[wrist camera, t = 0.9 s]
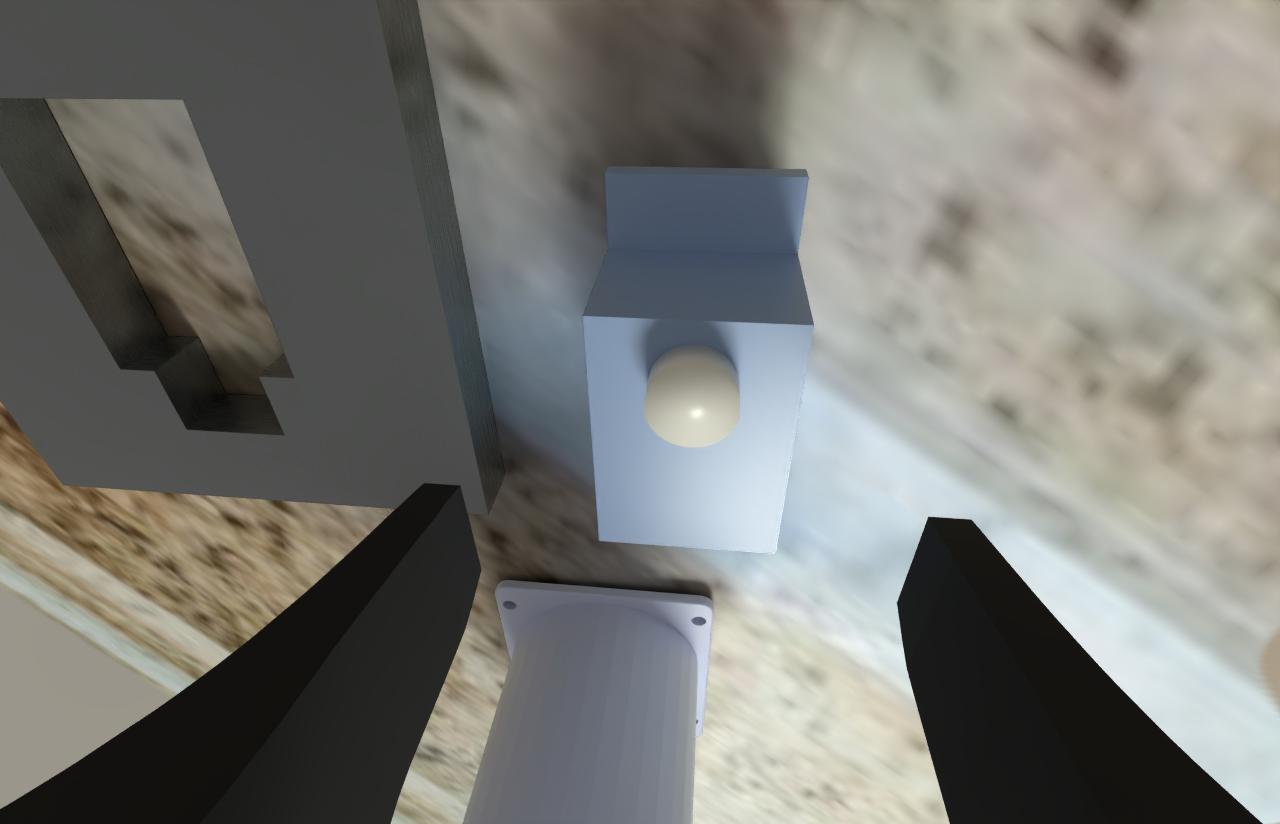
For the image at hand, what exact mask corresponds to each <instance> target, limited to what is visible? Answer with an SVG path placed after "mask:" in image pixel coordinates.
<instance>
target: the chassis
mask: <svg viewBox="0 0 1280 824" xmlns="http://www.w3.org/2000/svg"><path fill="white" fill-rule="evenodd" d="M43 98H60V99H177V100H183V101H184V103H185V106H186V108H187V111H188V113H189V116H190V118H191V121H192V123H193V126H194V128H195V131H196V133H197V136H198V138H199V141H200V143H201V146H202V148H203V151H204V153H205V156H206V158H207V161H208V163H209V166H210V168H211V171H212V173H213V176H214V178H215V181H216V183H217V186H218V188H219V191H220V193H221V196H222V198H223V201H224V203H225V206H226V208H227V211H228V213H229V216H230V218H231V221H232V223H233V226H234V228H235V231H236V233H237V236H238V238H239V241H240V243H241V246H242V248H243V251H244V253H245V256H246V258H247V261H248V263H249V266H250V268H251V271H252V273H253V276H254V278H255V281H256V283H257V286H258V288H259V291H260V293H261V296H262V298H263V301H264V303H265V306H266V308H267V311H268V313H269V316H270V318H271V321H272V323H273V326H274V328H275V331H276V333H277V336H278V338H279V341H280V343H281V345H282V348H283V350H284V353H283V354H282V355H281V356H280V357H279V358H278V359H277V360H276V361H275V362H274V363H273V364H272V365H271V366H270V367H269V368H268V369H267V370H265V371H264V372H263V373H262V374H261V375H260V376H259V378H260V380H261V382H262V385H263V387H264V389H265V391H266V394H267V396H254V395H235V394H225V392H224V389H223V387H222V385H221V383H220V381H219V379H218V377H217V375H216V373H215V371H214V369H213V367H212V365H211V363H210V361H209V359H208V357H207V354H206V352H205V350H204V348H203V346H202V344H201V342H200V340H199V338H195V337H173V336H166V334H165V332H164V330H163V328H162V326H161V325H160V323H159V321H158V319H157V317H156V315H155V313H154V311H153V309H152V307H151V305H150V303H149V301H148V299H147V298H146V296H145V294H144V292H143V290H142V288H141V286H140V284H139V282H138V280H137V278H136V276H135V274H134V272H133V271H132V269H131V267H130V265H129V263H128V261H127V259H126V257H125V255H124V253H123V251H122V249H121V247H120V246H119V244H118V242H117V240H116V238H115V236H114V234H113V232H112V230H111V228H110V226H109V224H108V222H107V220H106V219H105V217H104V215H103V213H102V211H101V209H100V207H99V205H98V203H97V201H96V199H95V197H94V195H93V194H92V192H91V190H90V188H89V186H88V184H87V182H86V180H85V178H84V176H83V174H82V172H81V170H80V168H79V167H78V165H77V163H76V161H75V159H74V157H73V155H72V153H71V151H70V149H69V147H68V145H67V143H66V141H65V140H64V138H63V136H62V134H61V132H60V130H59V128H58V126H57V124H56V122H55V120H54V118H53V116H52V115H51V113H50V111H49V109H48V107H47V105H46V103H45V101H44V99H43ZM0 401H1V403H2V404H3V405H4V407H5V408H6V409H7V411H8V412H9V413H10V415H11V416H12V417H13V419H14V420H15V421H16V423H17V424H18V425H19V427H20V428H21V429H22V431H23V432H24V433H25V435H26V436H27V437H28V439H29V440H30V441H31V443H32V444H33V446H34V447H35V448H36V450H37V451H38V452H39V454H40V455H41V456H42V458H43V459H44V460H45V462H46V463H47V464H48V466H49V467H50V468H51V470H52V471H53V472H54V474H55V475H56V476H57V478H58V479H59V480H60V482H61V483H62V484H63V485H68V486H82V487H96V488H110V489H124V490H138V491H152V492H166V493H181V494H195V495H209V496H223V497H237V498H251V499H265V500H279V501H294V502H308V503H322V504H336V505H350V506H364V507H378V508H392V509H396V508H397V507H398V506H399V505H400V504H402V503H403V502H404V501H405V500H406V499H407V498H408V497H409V496H410V495H411V494H412V493H413V492H415V491H416V490H417V489H418V488H419V487H420V486H421V485H422V484H423V483H432V484H447V485H460V486H461V490H462V494H463V498H464V502H465V506H466V510H467V514H477V515H489V512H490V510H491V508H492V505H493V503H494V500H495V498H496V495H497V493H498V490H499V488H500V486H501V483H502V481H503V478H504V476H505V473H504V467H503V462H502V457H501V451H500V446H499V441H498V435H497V430H496V424H495V419H494V414H493V408H492V403H491V398H490V392H489V387H488V381H487V376H486V371H485V365H484V360H483V355H482V349H481V344H480V338H479V333H478V328H477V322H476V317H475V312H474V306H473V301H472V295H471V290H470V285H469V279H468V274H467V269H466V263H465V258H464V252H463V247H462V242H461V236H460V231H459V226H458V220H457V215H456V209H455V204H454V199H453V193H452V188H451V183H450V177H449V172H448V166H447V161H446V156H445V150H444V145H443V140H442V134H441V129H440V123H439V118H438V113H437V107H436V102H435V97H434V91H433V86H432V80H431V75H430V70H429V64H428V59H427V54H426V48H425V43H424V37H423V32H422V27H421V21H420V16H419V11H418V5H417V0H0Z"/></svg>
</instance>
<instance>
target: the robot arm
mask: <svg viewBox="0 0 1280 824" xmlns="http://www.w3.org/2000/svg"><path fill="white" fill-rule="evenodd" d="M480 573H481V566H480V562H479V558H478V554H477V550H476V546H475V542H474V538H473V534H472V530H471V526H470V522H469V518H468V514H467V510H466V506H465V502H464V498H463V494H462V490H461V486H460V485H447V484H432V483H423V484H422V485H421V486H420V487H419V488H418V489H417V490H416V491H415V492H413V493H412V494H411V495H410V496H409V497H408V498H407V499H406V500H405V501H404V502H403V503H402V504H400V505H399V506H398V507H397V508H396V509H395V510H394V511H393V512H392V513H391V514H390V515H389V516H388V517H387V518H386V519H385V520H384V521H383V522H382V523H380V524H379V525H378V526H377V527H376V528H375V529H374V530H373V531H372V532H371V533H370V534H369V535H368V536H367V537H366V538H365V539H364V540H362V541H361V542H360V543H359V544H358V545H357V546H356V547H355V548H354V549H353V550H352V551H351V552H350V553H349V554H347V555H346V556H345V557H344V558H343V559H342V560H341V561H340V562H339V563H338V564H336V565H335V566H334V567H333V568H332V569H331V570H330V571H329V572H328V573H327V574H326V575H324V576H323V577H322V578H321V579H320V580H319V581H318V582H317V583H316V584H315V585H313V586H312V587H311V588H310V589H309V590H308V591H307V592H305V593H304V594H303V595H302V596H301V597H300V598H299V599H297V600H296V601H295V602H294V603H293V604H291V605H290V606H289V607H288V608H287V609H286V610H284V611H283V612H282V613H281V614H280V615H278V616H277V617H276V618H275V619H274V620H272V621H271V622H270V623H269V624H268V625H267V626H265V627H264V628H263V629H262V630H261V631H259V632H258V633H257V634H256V635H255V636H253V637H252V638H251V639H250V640H248V641H247V642H246V643H245V644H243V645H242V646H241V647H240V648H238V649H237V650H236V651H235V652H233V653H232V654H231V655H230V656H228V657H227V658H226V659H224V660H223V661H222V662H221V663H219V664H218V665H217V666H215V667H214V668H213V669H211V670H210V671H209V672H207V673H206V674H204V675H203V676H202V677H200V678H199V679H198V680H196V681H195V682H194V683H192V684H191V685H190V686H188V687H187V688H185V689H184V690H183V691H181V692H180V693H179V694H177V695H176V696H175V697H173V698H172V699H170V700H169V701H168V702H166V703H165V704H163V705H162V706H160V707H159V708H158V709H156V710H155V711H153V712H152V713H150V714H149V715H147V716H146V717H144V718H143V719H141V720H140V721H138V722H137V723H135V724H134V725H132V726H130V727H129V728H128V729H126V730H125V731H123V732H121V733H120V734H119V735H117V736H116V737H114V738H112V739H111V740H109V741H108V742H106V743H105V744H104V745H102V746H100V747H99V748H97V749H96V750H94V751H93V752H91V753H90V754H88V755H87V756H85V757H84V758H83V759H81V760H79V761H78V762H76V763H75V764H73V765H72V766H70V767H69V768H67V769H65V770H64V771H62V772H61V773H59V774H57V775H56V776H54V777H52V778H51V779H49V780H48V781H46V782H45V783H43V784H41V785H40V786H38V787H36V788H35V789H33V790H31V791H30V792H28V793H26V794H25V795H23V796H22V797H20V798H19V799H17V800H15V801H13V802H12V803H10V804H8V805H7V806H5V807H3V808H2V809H0V824H391V820H392V817H393V814H394V811H395V807H396V804H397V801H398V798H399V795H400V792H401V789H402V786H403V784H404V781H405V778H406V775H407V773H408V770H409V767H410V765H411V762H412V760H413V757H414V755H415V752H416V750H417V747H418V745H419V743H420V740H421V738H422V735H423V733H424V730H425V728H426V725H427V723H428V720H429V718H430V716H431V713H432V711H433V708H434V706H435V703H436V701H437V698H438V696H439V694H440V691H441V689H442V686H443V684H444V681H445V679H446V676H447V674H448V671H449V669H450V666H451V664H452V661H453V659H454V656H455V654H456V651H457V649H458V646H459V644H460V641H461V639H462V636H463V634H464V631H465V628H466V625H467V621H468V618H469V614H470V611H471V607H472V604H473V600H474V596H475V592H476V588H477V584H478V581H479V577H480ZM495 597H496V601H497V605H498V610H499V614H500V618H501V622H502V627H503V631H504V635H505V640H506V644H507V648H508V652H509V657H510V661H511V662H510V666H509V669H508V672H507V676H506V679H505V683H504V686H503V689H502V693H501V696H500V699H499V703H498V706H497V709H496V713H495V716H494V720H493V723H492V726H491V730H490V733H489V736H488V740H487V743H486V747H485V750H484V753H483V757H482V760H481V763H480V767H479V770H478V774H477V777H476V780H475V784H474V787H473V790H472V794H471V797H470V800H469V804H468V807H467V811H466V814H465V817H464V821H463V824H692V818H693V792H694V766H695V739H696V738H698V737H700V736H701V735H702V733H703V724H704V713H705V702H706V691H707V680H708V669H709V658H710V646H711V635H712V624H713V613H714V605H713V602H712V601H711V600H710V599H709V598H707V597H705V596H701V595H688V594H676V593H663V592H651V591H639V590H626V589H614V588H601V587H589V586H576V585H564V584H551V583H539V582H526V581H514V580H504V581H501V582H499V584H498V585H497V588H496V591H495ZM897 606H898V613H899V620H900V627H901V635H902V641H903V647H904V654H905V660H906V666H907V671H908V674H909V678H910V682H911V686H912V689H913V693H914V697H915V700H916V704H917V708H918V711H919V715H920V719H921V722H922V726H923V729H924V733H925V736H926V740H927V744H928V747H929V751H930V754H931V758H932V761H933V765H934V769H935V772H936V776H937V779H938V783H939V786H940V790H941V793H942V797H943V801H944V804H945V808H946V811H947V815H948V818H949V822H950V824H1262V823H1261V822H1260V821H1259V820H1258V819H1257V818H1256V817H1255V816H1254V815H1252V814H1251V813H1250V812H1249V811H1248V810H1247V809H1246V808H1245V807H1244V806H1243V805H1241V804H1240V803H1239V802H1238V801H1237V800H1236V799H1235V798H1234V797H1233V796H1232V795H1231V794H1229V793H1228V792H1227V791H1226V790H1225V789H1224V788H1223V787H1222V786H1221V785H1220V784H1218V783H1217V782H1216V781H1215V780H1214V779H1213V778H1212V777H1211V776H1210V775H1209V774H1208V773H1206V772H1205V771H1204V770H1203V769H1202V768H1201V767H1200V766H1199V765H1198V764H1197V763H1195V762H1194V761H1193V760H1192V759H1191V758H1190V757H1189V756H1188V755H1187V754H1186V753H1185V752H1184V751H1183V750H1182V749H1181V748H1180V747H1179V746H1178V745H1177V744H1176V743H1175V742H1174V741H1172V740H1171V739H1170V738H1169V737H1168V736H1167V735H1166V734H1165V733H1164V732H1163V731H1162V730H1161V729H1160V728H1159V727H1158V726H1157V725H1156V724H1155V723H1154V722H1153V721H1152V720H1151V719H1150V718H1149V717H1148V716H1147V715H1146V714H1145V713H1144V712H1143V711H1142V710H1141V709H1140V708H1139V707H1138V705H1137V704H1136V703H1135V702H1134V701H1133V700H1132V699H1131V698H1130V697H1129V696H1128V695H1127V694H1126V693H1125V692H1124V691H1123V690H1122V689H1121V688H1120V687H1119V686H1118V685H1117V684H1116V683H1115V682H1114V681H1113V680H1112V679H1111V678H1110V677H1109V676H1108V675H1107V674H1106V673H1105V671H1104V670H1103V669H1102V668H1101V667H1100V666H1099V665H1098V664H1097V663H1096V662H1095V661H1094V660H1093V659H1092V657H1091V656H1090V655H1089V654H1088V653H1087V652H1086V651H1085V650H1084V649H1083V648H1082V646H1081V645H1080V644H1079V643H1078V642H1077V641H1076V640H1075V639H1074V638H1073V637H1072V635H1071V634H1070V633H1069V632H1068V631H1067V630H1066V629H1065V628H1064V627H1063V625H1062V624H1061V623H1060V622H1059V621H1058V620H1057V619H1056V618H1055V617H1054V615H1053V614H1052V613H1051V612H1050V611H1049V610H1048V609H1047V607H1046V606H1045V605H1044V604H1043V603H1042V602H1041V601H1040V599H1039V598H1038V597H1037V596H1036V595H1035V594H1034V592H1033V591H1032V590H1031V589H1030V588H1029V587H1028V585H1027V584H1026V583H1025V582H1024V581H1023V580H1022V578H1021V577H1020V576H1019V575H1018V574H1017V573H1016V571H1015V570H1014V569H1013V568H1012V567H1011V565H1010V564H1009V563H1008V562H1007V561H1006V560H1005V558H1004V557H1003V556H1002V555H1001V554H1000V553H999V551H998V550H997V549H996V548H995V547H994V545H993V544H992V543H991V542H990V541H989V540H988V538H987V537H986V536H985V535H984V534H983V533H982V531H981V530H980V529H979V528H978V527H977V526H976V524H975V523H974V522H973V521H972V520H969V519H954V518H939V517H928V520H927V522H926V525H925V528H924V531H923V533H922V536H921V539H920V542H919V544H918V547H917V550H916V552H915V555H914V558H913V561H912V563H911V566H910V569H909V572H908V574H907V577H906V580H905V583H904V585H903V588H902V591H901V594H900V596H899V599H898V602H897Z"/></svg>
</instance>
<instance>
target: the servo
mask: <svg viewBox="0 0 1280 824" xmlns="http://www.w3.org/2000/svg"><path fill="white" fill-rule="evenodd" d="M808 179H809V176H808V174H807V171H806V169H756V168H700V167H643V166H608V168H607V170H606V172H605V190H606V213H607V236H608V250H607V253H606V256H605V258H604V261H603V264H602V266H601V269H600V272H599V274H598V277H597V280H596V282H595V285H594V287H593V290H592V293H591V295H590V298H589V301H588V303H587V306H586V309H585V311H584V314H583V328H584V341H585V355H586V368H587V382H588V396H589V409H590V423H591V436H592V450H593V464H594V477H595V491H596V504H597V518H598V531H599V541H607V542H620V543H634V544H647V545H661V546H675V547H688V548H702V549H716V550H729V551H743V552H757V553H770V554H776V548H777V542H778V536H779V530H780V524H781V518H782V512H783V506H784V501H785V495H786V489H787V483H788V477H789V471H790V465H791V459H792V453H793V447H794V441H795V435H796V429H797V423H798V417H799V411H800V406H801V400H802V394H803V388H804V382H805V376H806V370H807V364H808V358H809V352H810V346H811V340H812V334H813V328H814V323H813V319H812V314H811V310H810V306H809V301H808V297H807V292H806V288H805V284H804V279H803V275H802V271H801V266H800V262H799V257H798V250H799V243H800V236H801V229H802V222H803V214H804V207H805V200H806V193H807V186H808Z"/></svg>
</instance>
